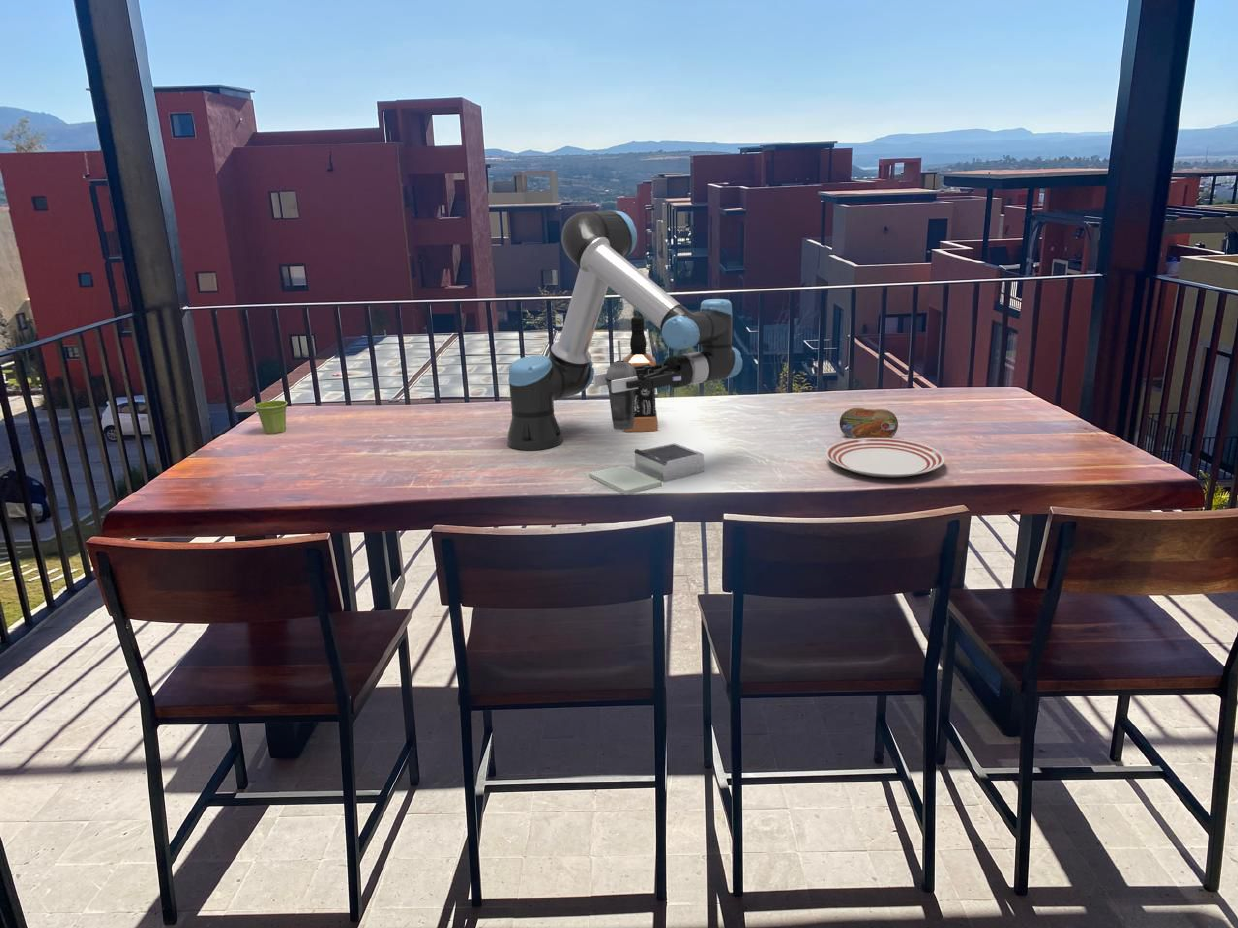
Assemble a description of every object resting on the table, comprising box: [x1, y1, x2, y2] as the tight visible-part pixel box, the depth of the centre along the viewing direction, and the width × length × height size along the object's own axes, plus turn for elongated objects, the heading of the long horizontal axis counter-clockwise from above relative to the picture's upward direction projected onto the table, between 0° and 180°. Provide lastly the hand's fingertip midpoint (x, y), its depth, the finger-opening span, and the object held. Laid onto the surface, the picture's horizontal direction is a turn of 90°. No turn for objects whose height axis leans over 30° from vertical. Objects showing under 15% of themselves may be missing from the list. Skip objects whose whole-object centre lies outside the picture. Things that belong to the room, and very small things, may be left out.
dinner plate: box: [825, 438, 946, 479], centre depth 198 cm, size 27×27×3 cm
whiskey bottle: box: [621, 316, 659, 433], centre depth 235 cm, size 10×10×32 cm
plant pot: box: [253, 400, 288, 435], centre depth 248 cm, size 9×9×9 cm
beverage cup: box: [606, 340, 637, 431], centre depth 187 cm, size 7×7×20 cm
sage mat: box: [588, 464, 662, 496], centre depth 194 cm, size 16×10×1 cm, turn 32°
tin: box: [839, 407, 899, 440], centre depth 220 cm, size 15×3×8 cm, turn 62°
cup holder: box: [634, 442, 705, 482], centre depth 200 cm, size 12×12×5 cm
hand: (603, 383), depth 184 cm, fingers closed on beverage cup, 7 cm apart
